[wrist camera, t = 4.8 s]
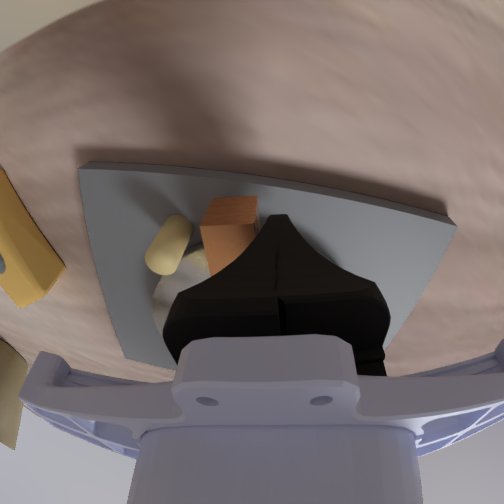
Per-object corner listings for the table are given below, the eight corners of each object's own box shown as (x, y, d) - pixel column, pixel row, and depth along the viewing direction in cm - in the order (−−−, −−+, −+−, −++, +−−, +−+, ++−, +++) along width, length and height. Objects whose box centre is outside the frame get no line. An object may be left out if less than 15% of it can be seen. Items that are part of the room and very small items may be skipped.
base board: (353, 376, 25) (358, 413, 21) (129, 348, 24) (115, 383, 21) (448, 216, 14) (482, 256, 11) (88, 161, 14) (45, 191, 11)
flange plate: (339, 367, 21) (344, 404, 18) (184, 367, 22) (176, 402, 20) (373, 184, 12) (400, 219, 9) (117, 200, 14) (83, 235, 11)
